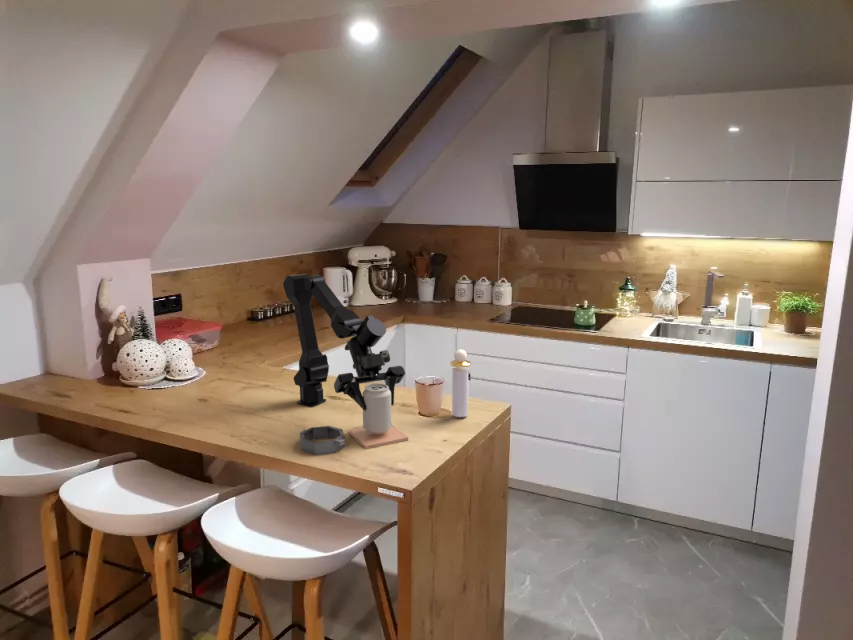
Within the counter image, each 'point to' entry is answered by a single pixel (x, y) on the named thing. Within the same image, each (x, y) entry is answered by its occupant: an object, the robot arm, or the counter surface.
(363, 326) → the robot arm
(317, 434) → the collar
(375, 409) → the can
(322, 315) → the counter surface
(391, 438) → the coaster
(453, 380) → the perfume bottle
